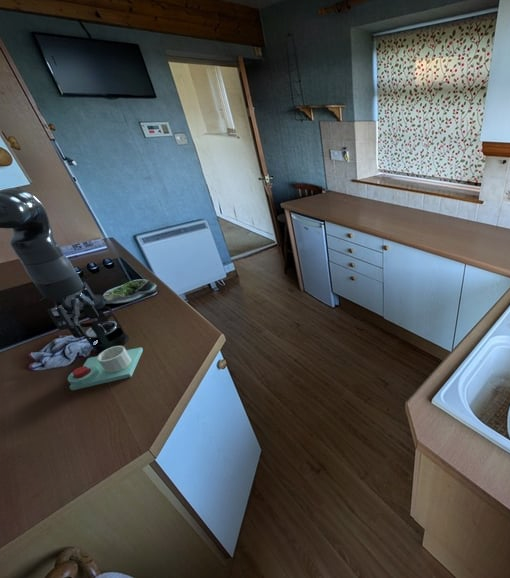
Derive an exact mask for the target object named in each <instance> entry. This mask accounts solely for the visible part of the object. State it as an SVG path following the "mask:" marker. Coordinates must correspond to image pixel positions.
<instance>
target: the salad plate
mask: <svg viewBox="0 0 510 578" xmlns="http://www.w3.org/2000/svg"><path fill="white" fill-rule="evenodd" d="M157 287H158V286H157V284H156V283H155V282H152V281H151V280H150V279H145V278H140V279H133V280H131V281H127V282H125V283H124V284H122V285H118V286H115V287H113V288H111V289H108V290H107V291H105V292H103V294H102V296H104V301H105V305H107V304H127V303H133V302H134V301H136V300H139V299H142V298H145V297H147V296H149V295H152V294H153V293H155V292H156V291H157Z"/></svg>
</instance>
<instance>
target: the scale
mask: <svg viewBox="0 0 510 578" xmlns="http://www.w3.org/2000/svg"><path fill="white" fill-rule="evenodd" d="M126 350H127V352H128V354H129V355H130V357H131V359H132V360H131V362H130V364H129V365H128V366H127V367H126V368H124V369H122V370H120V371H117V372H106V371H105V370H104V369H103V367H102V366H101V364H100V363H99V361H98V360H97V357H98V355H96V356H91V357H87V359H86V361H85V362H84V364H83V365H82V366H86V367H88V369H89V370H90V373H89V374H87V375H86V376H84V377H82V378H75V376H74V375H73V374H72V373H73V371H72V372H70V373H69V375H68V377H67V379H66V380H67V381H68V383H69V384H70V385H69V387H68V388H69V389H70V390H71V391H76V390H81V389H84V388H89V387H93V386H94V387H95V386H98V385H102V384H106V383H112V382H116V381H119V380H124V379H128V378H132V376H133V374H134V372H135V369H136V368H137V365H138V363H139V361H140V358H141V356H142V354H143V351H144V349H143V347H136V348H131V349H126Z"/></svg>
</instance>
